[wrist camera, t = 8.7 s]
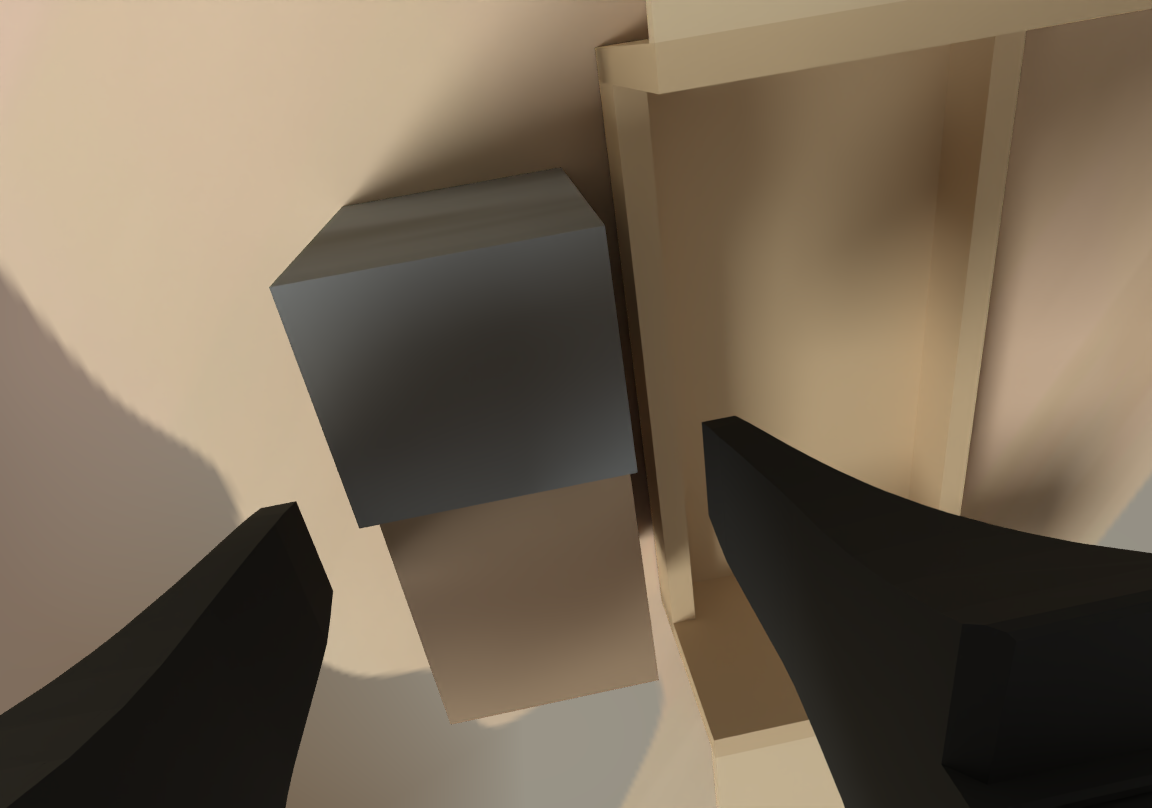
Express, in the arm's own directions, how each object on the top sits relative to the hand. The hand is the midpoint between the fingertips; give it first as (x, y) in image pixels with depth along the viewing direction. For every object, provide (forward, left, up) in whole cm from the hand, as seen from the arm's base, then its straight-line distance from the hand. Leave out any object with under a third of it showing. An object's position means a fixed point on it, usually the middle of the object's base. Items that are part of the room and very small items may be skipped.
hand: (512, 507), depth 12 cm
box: (0, 0, -5) cm, 5 cm away
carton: (0, -7, -5) cm, 8 cm away
